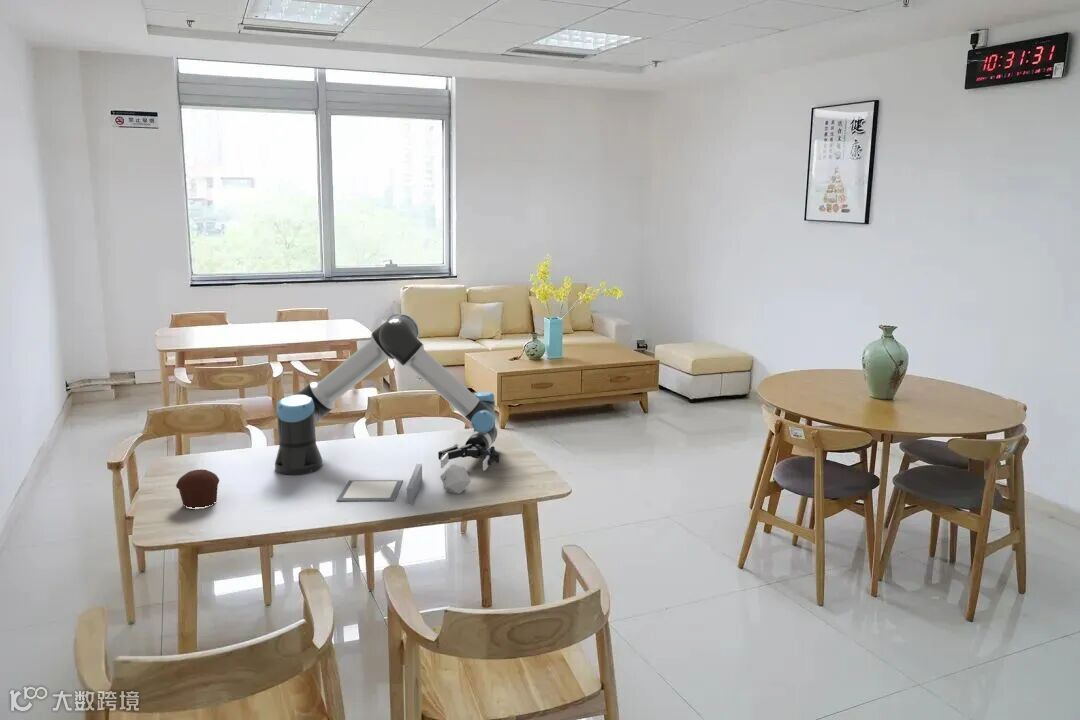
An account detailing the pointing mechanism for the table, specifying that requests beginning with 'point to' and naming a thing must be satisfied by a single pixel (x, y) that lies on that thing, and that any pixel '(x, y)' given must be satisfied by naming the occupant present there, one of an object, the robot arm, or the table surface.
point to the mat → (370, 491)
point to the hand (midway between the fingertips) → (462, 465)
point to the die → (455, 479)
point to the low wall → (414, 484)
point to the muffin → (198, 488)
